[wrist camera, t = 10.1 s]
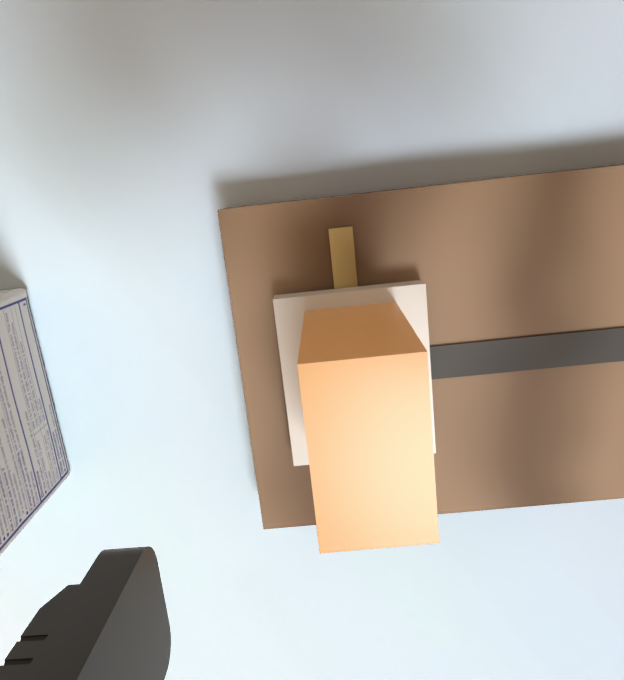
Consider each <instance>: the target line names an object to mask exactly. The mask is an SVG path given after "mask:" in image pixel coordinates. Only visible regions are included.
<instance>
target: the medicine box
mask: <svg viewBox="0 0 624 680" xmlns="http://www.w3.org/2000/svg"><path fill="white" fill-rule="evenodd" d="M69 474H70V470H69V466H68V462H67V458H66V454H65V450H64V446H63V442H62V438H61V434H60V430H59V426H58V422H57V418H56V414H55V410H54V406H53V402H52V398H51V394H50V390H49V385H48V381H47V377H46V373H45V369H44V365H43V361H42V357H41V353H40V349H39V345H38V341H37V336H36V332H35V328H34V324H33V320H32V316H31V312H30V308H29V304H28V300H27V292H26V289H25V288H17V289H9V290H0V555H1V554H2V553H3V551H4V550H5V549H6V548H7V547H8V546H9V544H10V543H11V542H12V541H13V540H14V539H15V537H16V536H17V535H18V534H19V533H20V532H21V530H22V529H23V528H24V527H25V526H26V525H27V523H28V522H29V521H30V520H31V519H32V517H33V516H34V515H35V514H36V513H37V512H38V510H39V509H40V508H41V507H42V506H43V505H44V504H45V503H46V501H47V500H48V499H49V498H50V497H51V496H52V494H53V493H54V492H55V491H56V490H57V488H58V487H59V486H60V485H61V484H62V482H63V481H64V480H65V479H66V478H67V477H68V475H69Z"/></svg>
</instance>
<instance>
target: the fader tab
mask: <svg viewBox="0 0 624 680" xmlns="http://www.w3.org/2000/svg"><path fill="white" fill-rule="evenodd" d="M273 306H274V314H275V322H276V329H277V337H278V345H279V353H280V361H281V369H282V377H283V385H284V393H285V400H286V408H287V416H288V424H289V432H290V440H291V448H292V456H293V464H294V466H301V465H309V467H310V475H311V484H312V492H313V500H314V509H315V517H316V525H317V534H318V542H319V551H320V553H329V552H341V551H353V550H364V549H376V548H388V547H400V546H412V545H423V544H435V543H439V531H438V515H437V499H436V483H435V467H434V453H436V444H435V427H434V411H433V395H432V378H431V362H430V345H429V329H428V313H427V296H426V283H425V282H424V281H422V280H415V281H405V282H396V283H386V284H376V285H367V286H357V287H348V288H338V289H328V290H319V291H309V292H300V293H290V294H280V295H274V298H273Z"/></svg>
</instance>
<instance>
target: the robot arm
mask: <svg viewBox="0 0 624 680" xmlns="http://www.w3.org/2000/svg"><path fill="white" fill-rule="evenodd" d="M170 648H171V634H170V626H169V620H168V615H167V610H166V604H165V599H164V594H163V589H162V583H161V578H160V573H159V568H158V562H157V558H156V555H155V552H154V550H153V549H152V548H151V547H137V548H123V549H109V550H103V551H102V552H101V553H100V554H99V555H98V557H97V558H96V560H95V561H94V563H93V565H92V566H91V568H90V569H89V571H88V572H87V574H86V576H85V577H84V579H83V580H82V582H81V584H78V585H68V586H67V587H66V588H64V589H63V590H62V591H61V592H59V593H58V594H57V595H56V596H55V597H53V598H52V599H51V600H50V601H49V602H47V603H46V604H45V605H44V606H43V607H41V608H40V609H39V611H38V612H37V614H36V615H35V617H34V618H33V619H32V621H31V622H30V624H29V625H28V627H27V628H26V630H25V631H24V633H23V634H22V635H21V641H20V642H17V643H16V644H15V646H14V647H13V648H12V650H11V651H10V653H9V654H8V656H7V657H6V659H5V664H4V666H0V680H164V678H165V675H166V672H167V669H168V664H169V658H170Z"/></svg>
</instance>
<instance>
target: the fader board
mask: <svg viewBox="0 0 624 680" xmlns="http://www.w3.org/2000/svg"><path fill="white" fill-rule="evenodd" d="M218 217H219V224H220V231H221V237H222V244H223V251H224V258H225V265H226V272H227V279H228V286H229V293H230V300H231V307H232V314H233V320H234V327H235V334H236V341H237V348H238V355H239V362H240V369H241V376H242V383H243V390H244V396H245V403H246V410H247V417H248V424H249V431H250V438H251V445H252V452H253V459H254V466H255V473H256V479H257V486H258V493H259V500H260V507H261V514H262V521H263V528H264V529H273V528H284V527H296V526H307V525H316V517H315V509H314V500H313V492H312V484H311V475H310V467H309V465H301V466H294V464H293V456H292V448H291V440H290V432H289V424H288V416H287V408H286V400H285V393H284V385H283V377H282V369H281V361H280V353H279V345H278V337H277V329H276V322H275V314H274V306H273V298H274V295H280V294H290V293H300V292H309V291H319V290H328V289H338V288H348V287H357V286H367V285H376V284H386V283H396V282H405V281H415V280H422V281H424V282H425V283H426V296H427V313H428V329H429V345H430V362H431V378H432V395H433V411H434V427H435V444H436V453H434V467H435V483H436V499H437V514H445V513H457V512H468V511H480V510H491V509H503V508H514V507H526V506H537V505H549V504H560V503H572V502H583V501H595V500H606V499H618V498H624V164H620V165H611V166H602V167H593V168H584V169H575V170H566V171H557V172H548V173H539V174H530V175H520V176H511V177H502V178H493V179H484V180H475V181H466V182H457V183H448V184H439V185H430V186H421V187H412V188H403V189H394V190H385V191H376V192H367V193H358V194H349V195H340V196H331V197H322V198H313V199H304V200H295V201H286V202H277V203H268V204H259V205H250V206H241V207H232V208H225V209H221V210H218Z"/></svg>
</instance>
